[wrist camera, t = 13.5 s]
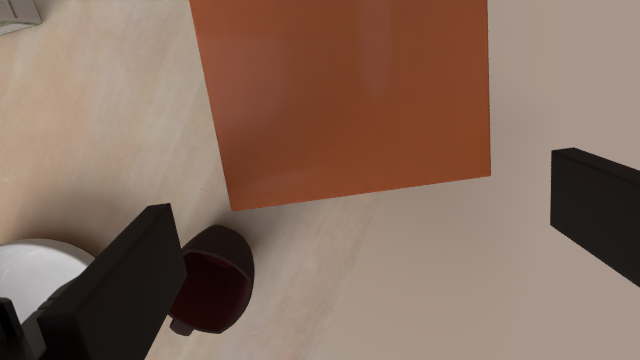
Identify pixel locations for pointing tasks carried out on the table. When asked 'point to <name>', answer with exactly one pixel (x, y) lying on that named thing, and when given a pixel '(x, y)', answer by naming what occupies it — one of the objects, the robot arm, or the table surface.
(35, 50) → the table surface
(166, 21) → the table surface
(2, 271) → the serving bowl
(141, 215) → the robot arm
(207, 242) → the mug
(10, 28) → the syrup box
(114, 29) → the table surface
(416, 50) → the terracotta rectangular block
